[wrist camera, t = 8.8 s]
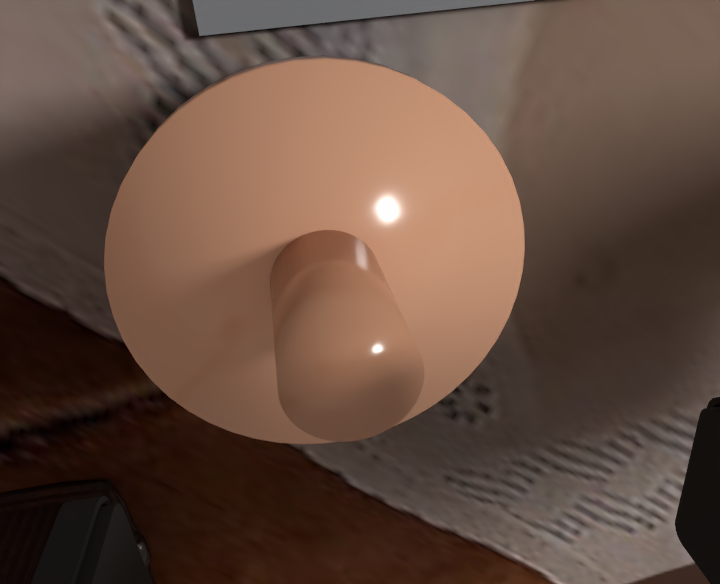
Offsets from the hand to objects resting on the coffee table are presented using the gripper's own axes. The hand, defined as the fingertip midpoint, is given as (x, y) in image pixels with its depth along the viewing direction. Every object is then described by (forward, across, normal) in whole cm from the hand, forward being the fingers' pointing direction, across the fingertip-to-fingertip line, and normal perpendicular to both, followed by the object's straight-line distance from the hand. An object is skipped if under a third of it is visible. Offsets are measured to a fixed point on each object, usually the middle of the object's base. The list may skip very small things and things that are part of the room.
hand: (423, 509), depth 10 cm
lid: (+10, +1, 0) cm, 10 cm away
